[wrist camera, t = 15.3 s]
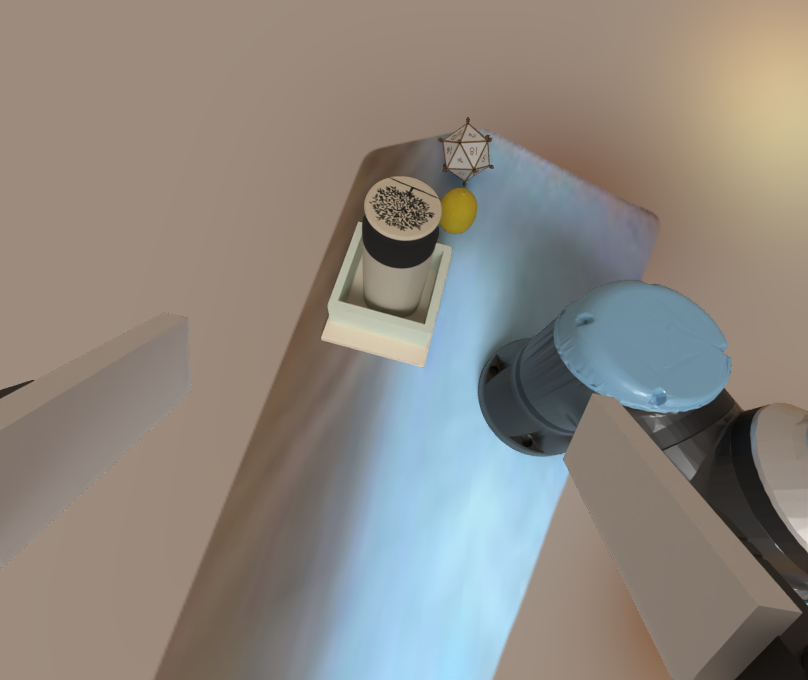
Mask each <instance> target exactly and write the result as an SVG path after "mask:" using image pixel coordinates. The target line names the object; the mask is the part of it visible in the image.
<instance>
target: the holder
mask: <svg viewBox="0 0 808 680" xmlns="http://www.w3.org/2000/svg"><path fill="white" fill-rule="evenodd" d="M451 251H452V247H450V246H446V245H443V244H439V243H436V246H435V250H434V253H433V257H432V260H431V264H430V267H429V271H428V275H427V278H426V282H425V285H424V289H423V292H422V296H421V299H420V302H419V305H418V307H417V308H416V310H415V311H414V312H413V313H412V314H410V315H409V316H407V317H405V318H400V317H396V316H392V315H389V314H385V313H381V312H378V311H374V310H370V309H369V308H368V307H367V305H366V303H365V301H364V296H363V253H362V222H358V224H357V227H356V230H355V232H354V235H353V238H352V241H351V243H350V246H349V249H348V251H347V254H346V257H345V260H344V262H343V265H342V268H341V270H340V273H339V276H338V278H337V281H336V284H335V287H334V289H333V292H332V295H331V297H330V300H329V303H328V311H329V318H328V320H327V323H326V326H325V329H324V331H323V334H322V337H321V339H322V340H323V341H327V342H331V343H334V344H338V345H342V346H345V347H349V348H353V349H356V350H360V351H364V352H367V353H371V354H375V355H378V356H382V357H386V358H389V359H393V360H397V361H400V362H404V363H408V364H411V365H415V366H419V367H422V368H424V366H425V362H426V358H427V354H428V350H429V345H430V341H431V337H432V333H433V329H434V325H435V321H436V317H437V313H438V308H439V304H440V300H441V296H442V292H443V288H444V284H445V280H446V276H447V271H448V267H449V263H450V259H451V255H452V254H451Z"/></svg>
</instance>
